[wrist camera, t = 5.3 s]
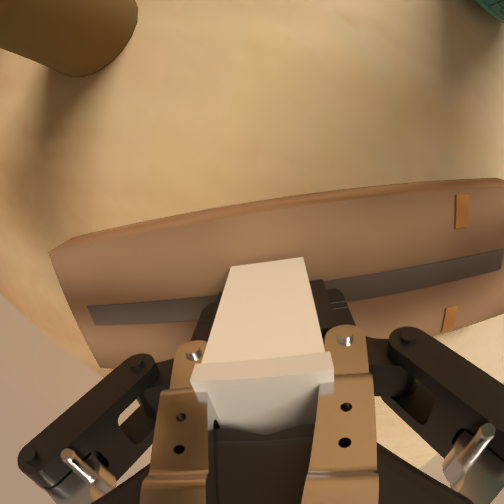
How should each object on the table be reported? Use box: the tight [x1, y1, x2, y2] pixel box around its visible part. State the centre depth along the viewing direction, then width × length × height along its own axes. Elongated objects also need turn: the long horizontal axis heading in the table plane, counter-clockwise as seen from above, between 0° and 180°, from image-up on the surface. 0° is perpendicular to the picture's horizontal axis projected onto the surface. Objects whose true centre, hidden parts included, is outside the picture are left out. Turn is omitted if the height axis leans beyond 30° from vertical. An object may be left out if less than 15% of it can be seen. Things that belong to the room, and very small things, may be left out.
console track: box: [48, 178, 504, 369], centre depth 14 cm, size 8×26×3 cm, turn 100°
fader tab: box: [190, 257, 334, 434], centre depth 10 cm, size 4×3×7 cm
